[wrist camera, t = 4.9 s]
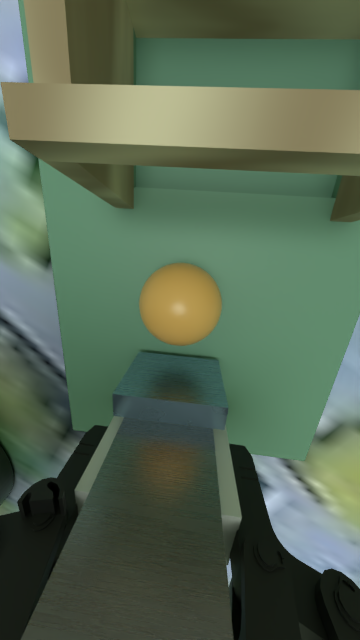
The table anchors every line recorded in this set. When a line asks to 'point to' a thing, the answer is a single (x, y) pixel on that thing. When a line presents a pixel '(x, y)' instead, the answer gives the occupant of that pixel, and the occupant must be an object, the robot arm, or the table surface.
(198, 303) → the ball
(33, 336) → the table surface
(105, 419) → the board
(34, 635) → the block
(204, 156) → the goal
